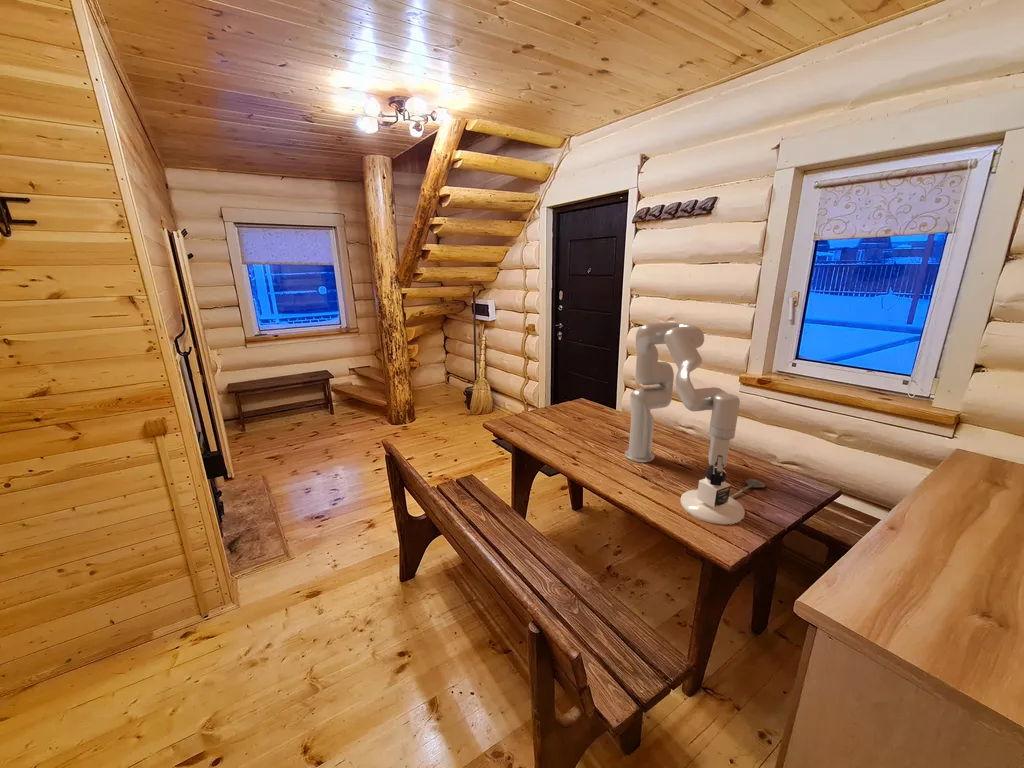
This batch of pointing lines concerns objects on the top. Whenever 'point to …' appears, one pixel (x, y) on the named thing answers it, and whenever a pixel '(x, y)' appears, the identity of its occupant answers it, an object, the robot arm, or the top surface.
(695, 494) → the dish
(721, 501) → the medicine bottle
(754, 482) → the grey spatula
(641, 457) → the robot arm
